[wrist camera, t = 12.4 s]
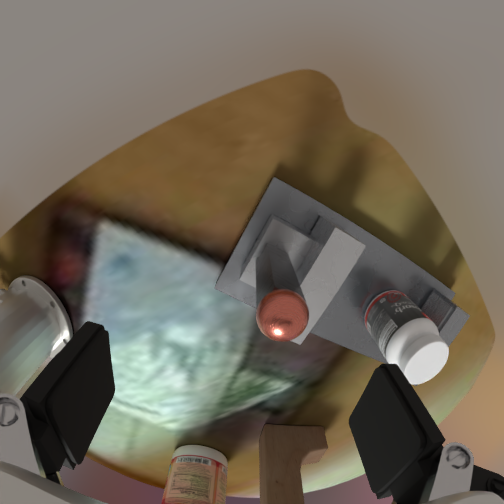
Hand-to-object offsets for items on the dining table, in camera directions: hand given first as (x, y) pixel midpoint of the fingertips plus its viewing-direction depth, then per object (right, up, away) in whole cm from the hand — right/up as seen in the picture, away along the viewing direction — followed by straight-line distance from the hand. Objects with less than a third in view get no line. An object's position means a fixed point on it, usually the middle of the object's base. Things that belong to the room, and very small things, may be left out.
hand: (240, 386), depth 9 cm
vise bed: (+11, +1, +20) cm, 23 cm away
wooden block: (+6, -22, +28) cm, 36 cm away
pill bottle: (+15, -2, +20) cm, 25 cm away
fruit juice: (-8, -30, +30) cm, 43 cm away
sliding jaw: (+4, +4, +18) cm, 19 cm away
